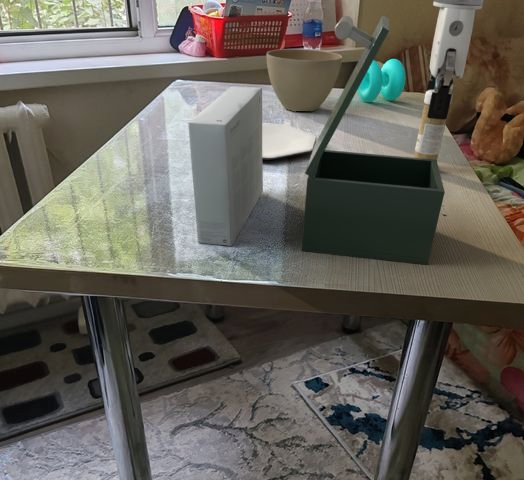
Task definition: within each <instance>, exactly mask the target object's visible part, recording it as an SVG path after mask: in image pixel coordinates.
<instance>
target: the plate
mask: <svg viewBox="0 0 524 480" xmlns="http://www.w3.org/2000/svg"><path fill="white" fill-rule="evenodd" d="M316 142H317V136H316V135H315V134H313V133H311V132H307V131H305V130H303V129H299V128H298V127H295V126H291V125H289V124H282V123H272V122H271V123H270V122H262V160H267V161H268V160H269V161H270V160H271V161H272V160H278V159H284V158H289V157H294V156H299V155H304V154H309V153H312V152H313V149H314V146H315V143H316Z"/></svg>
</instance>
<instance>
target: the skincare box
mask: <svg viewBox="0 0 524 480" xmlns="http://www.w3.org/2000/svg"><path fill="white" fill-rule="evenodd" d="M262 123H263V88H262V87H253V86H252V87H250V86H249V87H248V86H230V87H229V88H228V89H226V90H225V91H224V92H223V93H222V94H220V95H219V96H218V97H217V98H216V99H214V100H213V101H212V102H210V103H209V104H208V105H207V106H206V107H205V108H204V109H202V110H201V111H200V112H198V113H197V114H196V115H195V116H194V117H193V118H191V120H189V121H188V122H187V125H188V139H189V152H190V162H191V174H192V175H191V176H192V187H193V197H194V199H193V200H194V212H195V214H194V215H195V225H196V238H197V243H200V244H209V245H218V246H227V247H232V246H233V245H234V243H235V241H236V239H237V238H238V236H239V234H240V232H241V231H242V229H243V227H244V225H245V224H246V222H247V220H248V218H249V217H250V215H251V213H252V211H253V210H254V208H255V206H256V205H257V202H258V200H259V199H260V197H261V195H262V194H263V191H264V174H263V173H264V169H263V166H264V165H263V164H264V163H263V159H262Z"/></svg>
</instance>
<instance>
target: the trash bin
mask: <svg viewBox="0 0 524 480" xmlns="http://www.w3.org/2000/svg"><path fill="white" fill-rule="evenodd" d="M445 194H446V192H445V187H444V184H443V180H442V175H441V172H440V169H439V164H438V159H437V160H435V159H423V158H414V157H409V156H399V155H389V154H388V155H387V154H376V153H375V154H374V153H366V152H355V151H354V152H353V151H344V150H343V151H341V150H331V149H330V150H329V149H325V151H324V153H323V154H322V156H321V158H320V160H319V162H318V164H317V166H316V167H315V169H314V171H313V173H312V175H311V176H308V175H307V179H306V189H305V202H304V215H303V225H302V238H301V239H302V241H301V252H308V253H317V254H326V255H334V256H335V255H337V256H345V257H353V256H356V257H357V258H362V257H363V258H364V259H371V258H372V259H373V260H382V261H391V262H399V263H408V264H417V265H426V266H427V265H429V259H430V256H431V252H432V248H433V243H434V239H435V235H436V231H437V226H438V222H439V218H440V215H441V211H442V207H443V202H444V198H445ZM356 257H355V258H356Z"/></svg>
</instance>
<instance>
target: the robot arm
mask: <svg viewBox="0 0 524 480" xmlns="http://www.w3.org/2000/svg"><path fill="white" fill-rule="evenodd" d="M483 5H484V0H433V3H432V6H434V7H437V8H439V11H438V15H437V21H436V25H435V30H434V36H433V41H432V47H431V55H430V59H429V60H430V61H429V70H430V76H429V79H428V81H427V85H426V89H425V93H426V92H427V91H428V90H434V92H432V95H431V100H430V105H429V110H428V114H427V116H428V118H431V119H443V120H445V119H446V120H447V118H448V114H449V110H450V106H451V105H450V102H451V103H452V101H451V98H452V99H453V96H452V94H453V90H454V82H455V77H456V80H461V79H462V78H463V77H464V73H465V68H466V62H467V59H468V58H467V57H468V53H469V48H470V45H471V38H472V33H473V28H474V22H475V15H476V14H475V13H476V10H482V8H483ZM424 104H425V103H424V102H423V105H424Z"/></svg>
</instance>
